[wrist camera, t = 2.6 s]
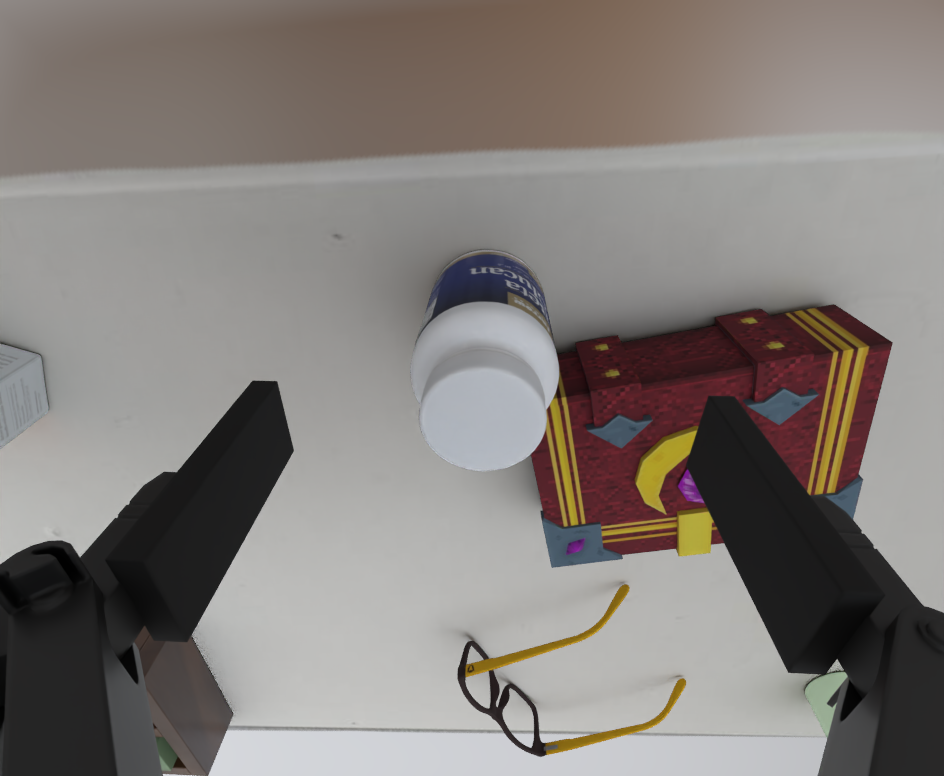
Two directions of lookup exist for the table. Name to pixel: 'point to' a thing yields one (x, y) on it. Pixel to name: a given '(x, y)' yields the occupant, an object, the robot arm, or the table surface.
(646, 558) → the table surface
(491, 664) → the eyeglasses
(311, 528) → the table surface
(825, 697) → the candle
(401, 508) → the table surface
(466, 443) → the pill bottle
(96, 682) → the robot arm
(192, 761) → the wooden cubby shelf
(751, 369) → the decorative book
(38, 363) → the cosmetic box
